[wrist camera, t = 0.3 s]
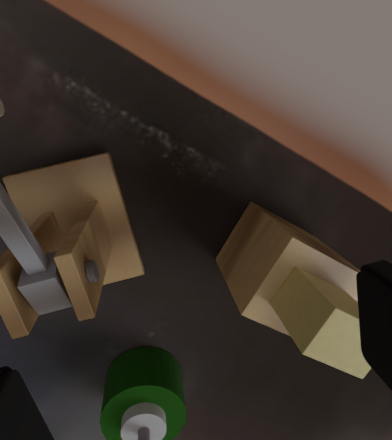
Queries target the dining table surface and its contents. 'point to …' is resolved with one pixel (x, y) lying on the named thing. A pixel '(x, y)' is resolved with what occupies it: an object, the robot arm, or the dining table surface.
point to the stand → (275, 263)
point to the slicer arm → (31, 259)
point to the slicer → (70, 234)
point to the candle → (143, 396)
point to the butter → (322, 321)
